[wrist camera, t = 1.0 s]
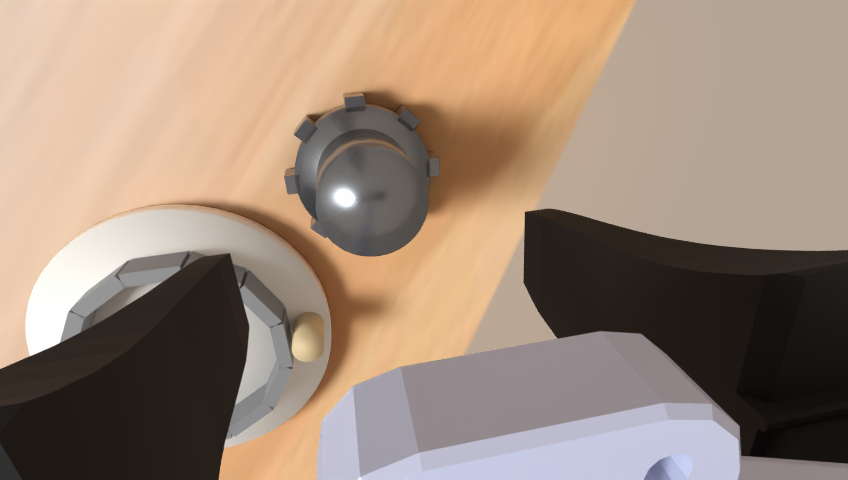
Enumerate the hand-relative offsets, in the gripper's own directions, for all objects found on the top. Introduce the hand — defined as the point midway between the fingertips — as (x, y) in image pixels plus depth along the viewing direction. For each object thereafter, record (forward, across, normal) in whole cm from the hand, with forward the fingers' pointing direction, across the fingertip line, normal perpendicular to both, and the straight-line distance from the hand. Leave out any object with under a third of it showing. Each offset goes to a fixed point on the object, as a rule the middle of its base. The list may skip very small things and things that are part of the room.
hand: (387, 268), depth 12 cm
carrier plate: (+11, +9, +8) cm, 16 cm away
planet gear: (+11, 0, +1) cm, 11 cm away
